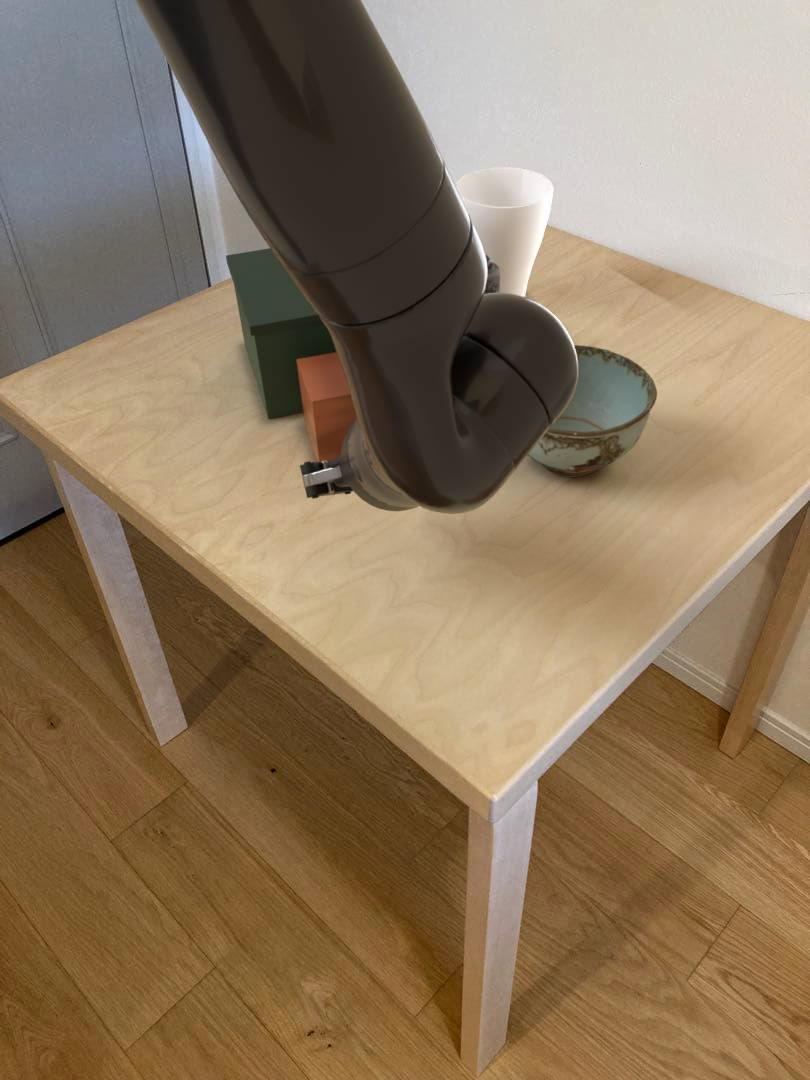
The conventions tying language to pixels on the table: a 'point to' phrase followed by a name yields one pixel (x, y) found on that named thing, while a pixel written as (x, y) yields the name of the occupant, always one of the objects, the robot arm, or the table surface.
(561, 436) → the bowl
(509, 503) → the table surface
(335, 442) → the block
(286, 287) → the box
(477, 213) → the cup
